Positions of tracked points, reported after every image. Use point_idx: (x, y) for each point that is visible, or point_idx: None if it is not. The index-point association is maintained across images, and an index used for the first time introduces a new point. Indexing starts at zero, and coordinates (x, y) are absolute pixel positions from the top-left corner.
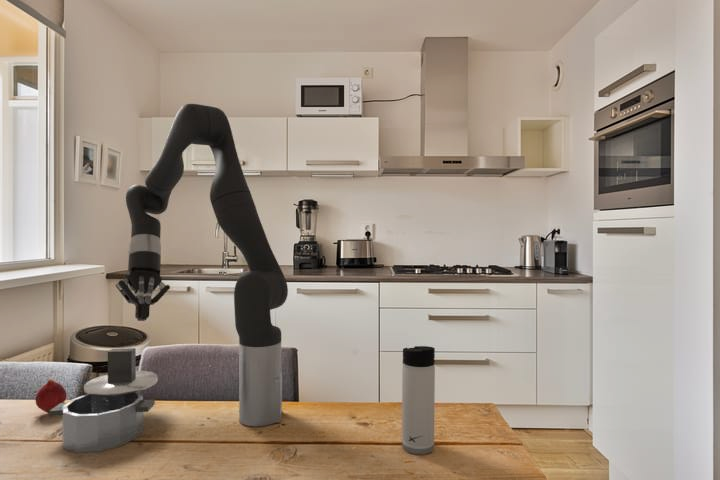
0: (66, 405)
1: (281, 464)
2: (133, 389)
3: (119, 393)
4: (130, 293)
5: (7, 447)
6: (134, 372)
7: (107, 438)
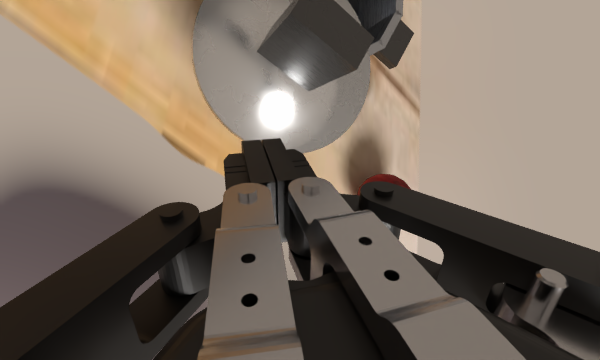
0: (396, 15)
1: None
2: None
3: None
4: (435, 215)
5: (419, 79)
6: (267, 36)
7: None
